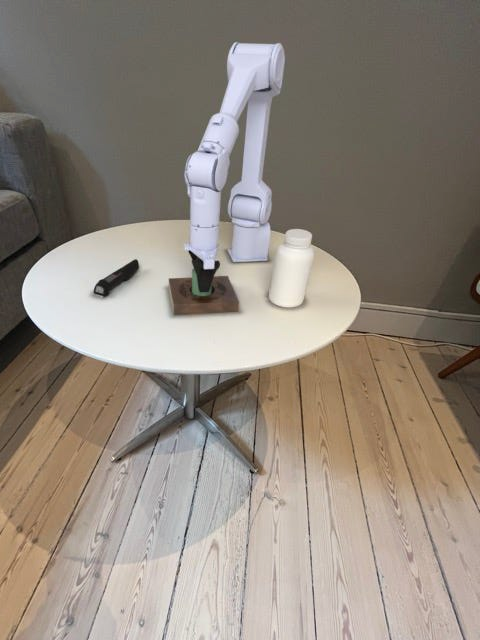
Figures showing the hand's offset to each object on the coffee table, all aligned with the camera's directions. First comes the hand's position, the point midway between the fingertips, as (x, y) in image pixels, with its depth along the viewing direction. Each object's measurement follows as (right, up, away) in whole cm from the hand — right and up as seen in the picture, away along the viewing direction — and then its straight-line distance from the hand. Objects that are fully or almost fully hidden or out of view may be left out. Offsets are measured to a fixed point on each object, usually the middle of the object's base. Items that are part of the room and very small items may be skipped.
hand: (202, 285), depth 85 cm
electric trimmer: (-20, +3, +8) cm, 22 cm away
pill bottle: (+19, -3, +3) cm, 19 cm away
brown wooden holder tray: (0, -3, +2) cm, 3 cm away
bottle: (0, -3, +2) cm, 3 cm away
